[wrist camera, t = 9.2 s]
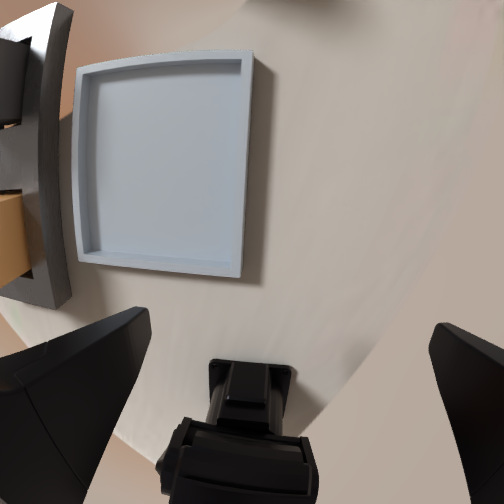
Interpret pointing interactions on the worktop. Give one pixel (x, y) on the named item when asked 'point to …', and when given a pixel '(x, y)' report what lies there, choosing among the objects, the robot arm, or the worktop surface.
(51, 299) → the grey slotted frame
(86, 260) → the tray
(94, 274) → the worktop surface
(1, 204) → the orange block
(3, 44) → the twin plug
